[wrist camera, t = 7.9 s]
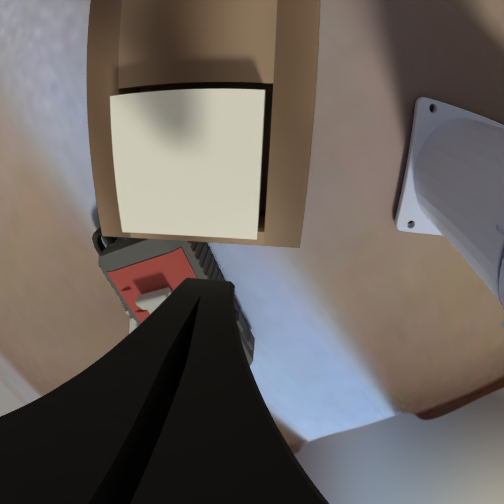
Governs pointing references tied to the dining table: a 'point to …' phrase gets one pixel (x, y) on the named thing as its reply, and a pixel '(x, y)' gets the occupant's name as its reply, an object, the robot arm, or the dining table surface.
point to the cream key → (189, 161)
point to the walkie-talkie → (158, 274)
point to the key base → (211, 77)
